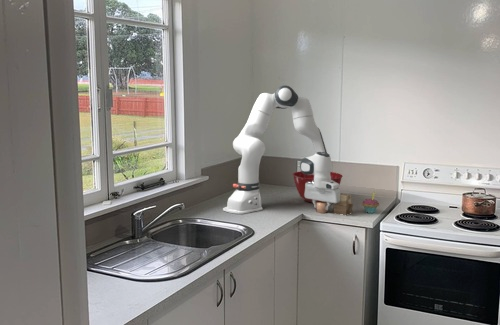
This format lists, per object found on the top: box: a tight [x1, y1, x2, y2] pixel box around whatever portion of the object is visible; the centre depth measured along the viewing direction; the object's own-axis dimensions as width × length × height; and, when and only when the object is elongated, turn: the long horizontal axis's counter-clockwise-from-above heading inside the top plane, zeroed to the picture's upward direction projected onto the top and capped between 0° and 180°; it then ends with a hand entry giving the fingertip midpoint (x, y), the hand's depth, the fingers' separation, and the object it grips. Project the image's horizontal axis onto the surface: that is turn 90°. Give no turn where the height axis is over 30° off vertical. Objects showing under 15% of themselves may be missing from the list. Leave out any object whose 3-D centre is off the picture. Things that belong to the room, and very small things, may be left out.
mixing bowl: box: [292, 170, 343, 204], centre depth 297 cm, size 28×28×15 cm
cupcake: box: [361, 190, 380, 214], centre depth 271 cm, size 9×8×12 cm
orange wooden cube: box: [316, 202, 328, 214], centre depth 272 cm, size 5×5×5 cm
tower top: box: [335, 192, 352, 206], centre depth 269 cm, size 6×6×5 cm
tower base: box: [333, 203, 354, 216], centre depth 269 cm, size 7×7×5 cm
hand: (321, 208), depth 272 cm, fingers closed on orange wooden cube, 5 cm apart
